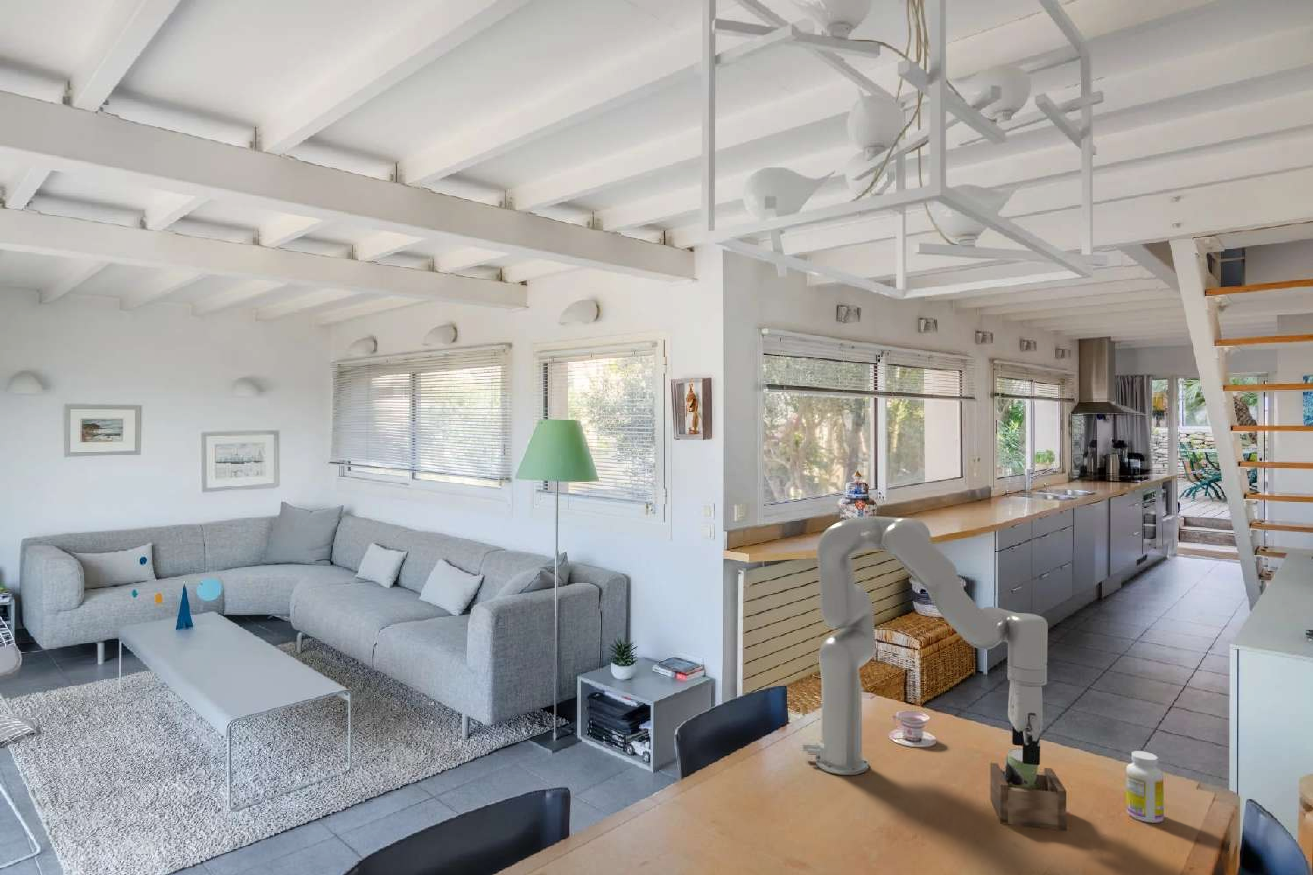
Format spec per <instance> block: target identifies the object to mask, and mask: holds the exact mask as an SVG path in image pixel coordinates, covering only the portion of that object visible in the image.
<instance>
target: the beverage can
mask: <svg viewBox="0 0 1313 875" xmlns="http://www.w3.org/2000/svg"><path fill="white" fill-rule="evenodd" d="M1022 755H1023V748H1012V749H1011V750H1010V751H1009V752H1008V754H1007V755H1006V760H1005V768H1004V769H1005V779H1006V781H1007V784H1008V787H1012V788H1022V789H1032V790H1036V780H1037V772H1038V768H1039V767H1038V766H1039V765H1031V764H1024V763H1023V761H1022Z"/></svg>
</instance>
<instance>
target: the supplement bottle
mask: <svg viewBox="0 0 1313 875" xmlns="http://www.w3.org/2000/svg"><path fill="white" fill-rule="evenodd" d="M1158 759H1159V758H1158V756H1157V755H1155V754H1154V753H1151V752H1147V751H1142V750H1135V751H1132V752H1131V761H1132V762H1130V763H1129V764H1128V765H1127V766H1126V770H1125V774H1126V775H1125V777H1126V778H1125V781H1126V785H1125V786H1126V787H1125V790H1126V791H1125V792H1126V797H1125V799H1126V802H1125V803H1126V804H1125V805H1126V812H1127V813H1128V814H1127V815H1129V816H1130V817H1131V818H1133V819H1135V820H1138V821H1141V822H1145V823H1150V824H1152V823H1153V824H1154V823H1155V824H1157V823H1161V822H1162V821H1163V820H1164V818H1165V817H1164V816H1165V815H1164V814H1165V813H1164V812H1165V810H1164V808H1165V807H1164V806H1165V805H1164V804H1165V803H1164V802H1165V800H1164V798H1165V797H1164V796H1165V794H1164V791H1165V790H1164V788H1165V786H1164V778H1165V777H1164V774H1163V771H1162V770H1161V769H1159V767H1157V766H1158V764H1159V760H1158Z"/></svg>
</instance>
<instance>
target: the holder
mask: <svg viewBox="0 0 1313 875" xmlns="http://www.w3.org/2000/svg"><path fill="white" fill-rule="evenodd" d="M989 770H990V773H989V774H990V776H989V777H990V780H989V781H990V783H989V784H990V786H989V787H990V788H989V789H990V790H989V796H990V798H989V799H990V800H989V801H990V802H991V805H992V807H993V810H994V812H995V813H996V816H997V819H998V822H999V823H1000V824H1002V823H1003V824H1004V823H1005V824H1004V825H1011V824H1012V825H1013V826H1020V825H1022V826H1021V827H1023V826H1024V827H1031V828H1040V829H1047V830H1048V829H1049V830H1057V831H1065V832H1066V831H1067V790H1066V787H1064V785H1063V784H1062V782H1061V780H1060V779H1059V777H1058V776H1057V774H1056V773H1055V771H1054V769H1053V768H1051V767H1050V768H1049V767H1044V769H1043V770H1044V771H1037V780H1036V790H1032V789H1022V788H1012V787H1008V784H1007V781H1006V779H1005V768H1001V767H1000V765H999V764H998V763H997V762H990V769H989Z"/></svg>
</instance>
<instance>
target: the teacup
mask: <svg viewBox="0 0 1313 875" xmlns="http://www.w3.org/2000/svg"><path fill="white" fill-rule="evenodd" d="M892 717H893V723H894V725H895V726H896V728H895V729H894V730H891V731H890V732H888V738H889V739H890V740H891V741H892V742H894V743H895V744H899V745H901V746H906V747H911V748H928V747H932V746H934V745H936V744H937V738H936V737H935V736H934V735H933V734H931V733H929V732H926V731H924V728H925V726H926V724H927V723H928V722H929V720H930V717H931V716H929V715H928V714H926V713H922V712H920V711H914V710H900V711H897V712H896V713H895V715H893V716H892ZM896 719H897V720H898V721H900V724H901V727H900V725H898V723H897V721H896ZM904 737H905V738H906V739H907V740H906V739H904ZM894 738H903V739H904V740H903V739H899V740H898V739H896V740H895V739H894ZM920 739H921V741H920ZM910 740H911V741H910ZM914 745H924V746H914Z"/></svg>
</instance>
